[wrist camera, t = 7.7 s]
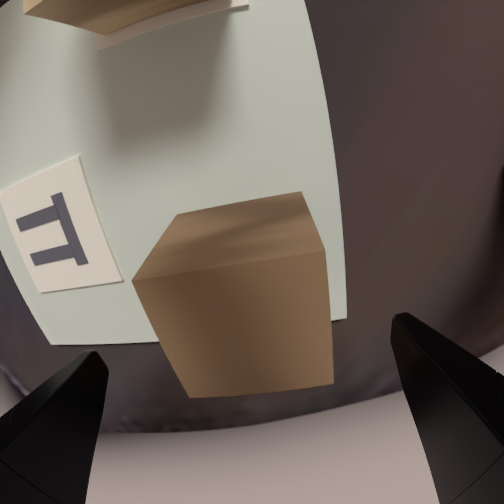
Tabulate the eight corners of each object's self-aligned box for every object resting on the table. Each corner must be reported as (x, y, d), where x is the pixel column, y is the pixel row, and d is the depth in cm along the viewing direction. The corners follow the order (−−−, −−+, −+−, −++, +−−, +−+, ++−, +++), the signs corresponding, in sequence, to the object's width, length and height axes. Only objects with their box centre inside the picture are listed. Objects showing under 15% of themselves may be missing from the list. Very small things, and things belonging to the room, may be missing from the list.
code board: (269, -97, 6) (269, -106, 5) (344, 310, 15) (347, 321, 14) (-38, 50, 8) (-47, 50, 7) (54, 338, 17) (49, 346, 16)
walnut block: (301, 191, 12) (325, 249, 7) (315, 297, 14) (333, 383, 9) (176, 214, 12) (131, 280, 8) (208, 313, 14) (189, 398, 10)
